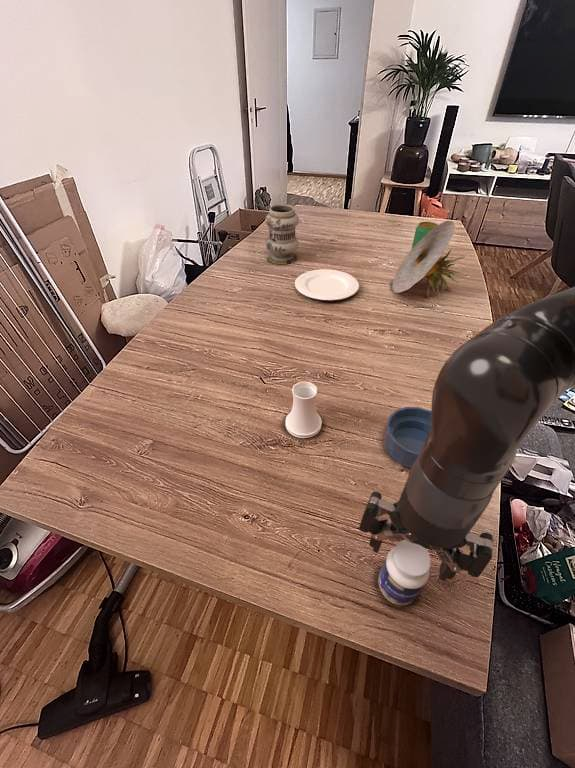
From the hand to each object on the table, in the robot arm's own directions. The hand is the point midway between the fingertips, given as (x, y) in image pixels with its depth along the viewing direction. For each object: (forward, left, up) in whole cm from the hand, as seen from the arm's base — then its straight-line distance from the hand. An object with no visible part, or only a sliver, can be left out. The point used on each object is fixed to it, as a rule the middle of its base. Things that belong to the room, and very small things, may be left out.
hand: (408, 559), depth 49 cm
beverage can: (+61, -102, -9) cm, 119 cm away
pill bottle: (0, 0, -9) cm, 9 cm away
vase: (+32, -12, -9) cm, 35 cm away
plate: (+69, -59, -9) cm, 91 cm away
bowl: (+13, -24, -9) cm, 29 cm away
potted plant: (+47, -81, -9) cm, 94 cm away
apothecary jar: (+96, -64, -9) cm, 116 cm away
